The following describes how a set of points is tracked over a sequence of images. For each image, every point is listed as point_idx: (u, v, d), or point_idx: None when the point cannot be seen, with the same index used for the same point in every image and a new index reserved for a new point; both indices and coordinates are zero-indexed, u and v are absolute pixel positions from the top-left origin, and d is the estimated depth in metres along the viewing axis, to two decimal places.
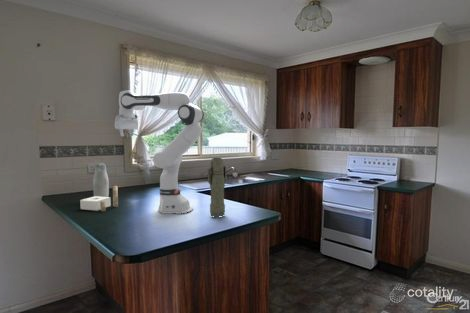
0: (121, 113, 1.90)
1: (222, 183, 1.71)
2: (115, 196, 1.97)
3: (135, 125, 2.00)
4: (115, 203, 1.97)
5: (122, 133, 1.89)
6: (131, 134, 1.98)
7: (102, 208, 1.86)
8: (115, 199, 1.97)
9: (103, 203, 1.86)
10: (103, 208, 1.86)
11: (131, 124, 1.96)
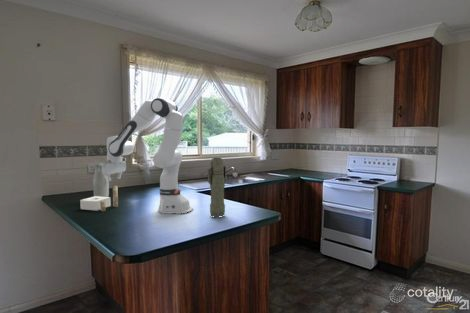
0: (108, 158, 1.92)
1: (222, 183, 1.71)
2: (115, 196, 1.97)
3: (123, 168, 2.03)
4: (115, 203, 1.97)
5: (109, 178, 1.92)
6: (119, 177, 2.01)
7: (102, 208, 1.86)
8: (115, 199, 1.97)
9: (103, 203, 1.86)
10: (103, 208, 1.86)
11: (119, 167, 1.99)
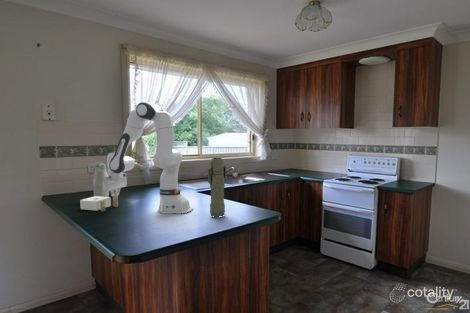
0: (109, 174, 1.93)
1: (222, 183, 1.71)
2: (115, 196, 1.97)
3: (124, 183, 2.04)
4: (115, 203, 1.97)
5: (113, 193, 1.95)
6: None
7: (102, 208, 1.86)
8: (115, 199, 1.97)
9: (103, 203, 1.86)
10: (103, 208, 1.86)
11: (119, 183, 2.00)
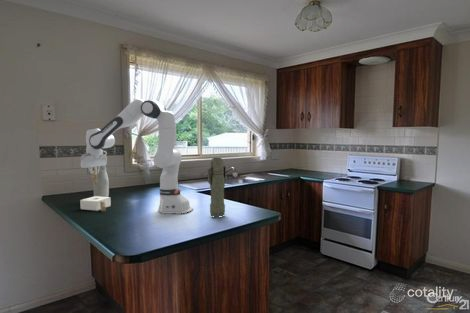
0: (88, 151, 1.90)
1: (222, 183, 1.71)
2: (94, 174, 1.93)
3: (104, 161, 2.00)
4: (94, 181, 1.94)
5: (92, 171, 1.91)
6: None
7: (102, 208, 1.86)
8: (94, 177, 1.93)
9: (103, 203, 1.86)
10: (103, 208, 1.86)
11: (99, 161, 1.96)
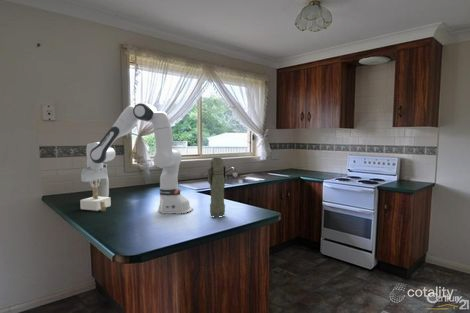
0: (88, 165, 1.90)
1: (222, 183, 1.71)
2: (95, 187, 1.94)
3: (104, 174, 2.01)
4: (95, 194, 1.94)
5: (92, 184, 1.92)
6: (97, 184, 1.96)
7: (102, 208, 1.86)
8: (95, 190, 1.94)
9: (103, 203, 1.86)
10: (103, 208, 1.86)
11: (99, 174, 1.97)
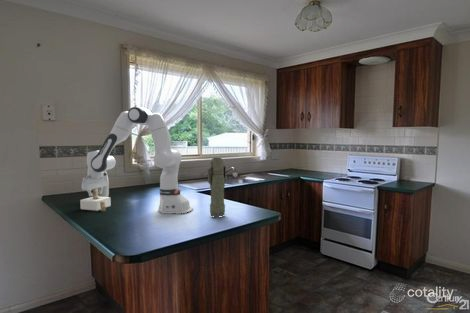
0: (89, 173, 1.91)
1: (222, 183, 1.71)
2: (95, 197, 1.95)
3: (104, 182, 2.01)
4: None
5: (90, 193, 1.91)
6: (100, 192, 1.99)
7: (102, 208, 1.86)
8: None
9: (103, 203, 1.86)
10: (103, 208, 1.86)
11: (100, 182, 1.97)
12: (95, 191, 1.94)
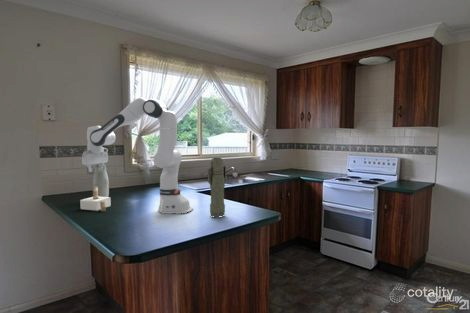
0: (89, 148, 1.90)
1: (222, 183, 1.71)
2: (95, 197, 1.95)
3: (105, 158, 2.00)
4: None
5: (90, 168, 1.89)
6: (100, 168, 1.98)
7: (102, 208, 1.86)
8: None
9: (103, 203, 1.86)
10: (103, 208, 1.86)
11: (100, 158, 1.96)
12: (95, 191, 1.94)
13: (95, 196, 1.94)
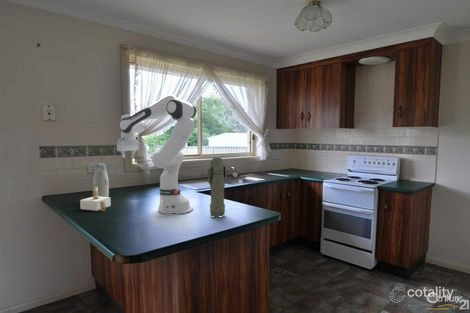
0: (123, 136, 2.00)
1: (222, 183, 1.71)
2: (95, 197, 1.95)
3: (136, 146, 2.11)
4: None
5: (124, 155, 1.99)
6: (132, 155, 2.08)
7: (102, 208, 1.86)
8: None
9: (103, 203, 1.86)
10: (103, 208, 1.86)
11: (132, 145, 2.06)
12: (95, 191, 1.94)
13: (95, 196, 1.94)
